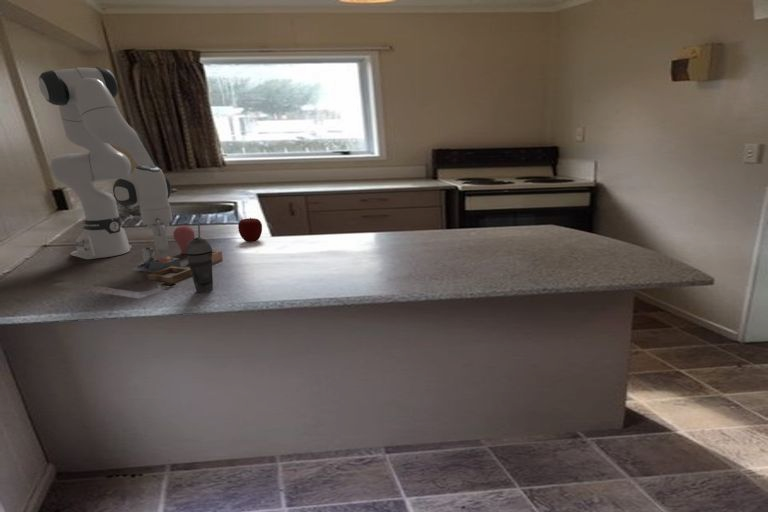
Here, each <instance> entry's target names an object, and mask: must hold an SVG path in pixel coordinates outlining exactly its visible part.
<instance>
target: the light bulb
mask: <svg viewBox="0 0 768 512" xmlns="http://www.w3.org/2000/svg"><path fill="white" fill-rule="evenodd" d="M194 238H195V232H194V229H193V228H192V227H190V226H188V225H179V226H177V227H176V228H175V229H174V230H173V239H174V241H175V243H176V244H177V245H178V246H179V249H180V253H181V254H182V255H186V254H185V253H186V251H185V250H186V246H187V244H188V242H189V241H190V240H192V239H194Z"/></svg>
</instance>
